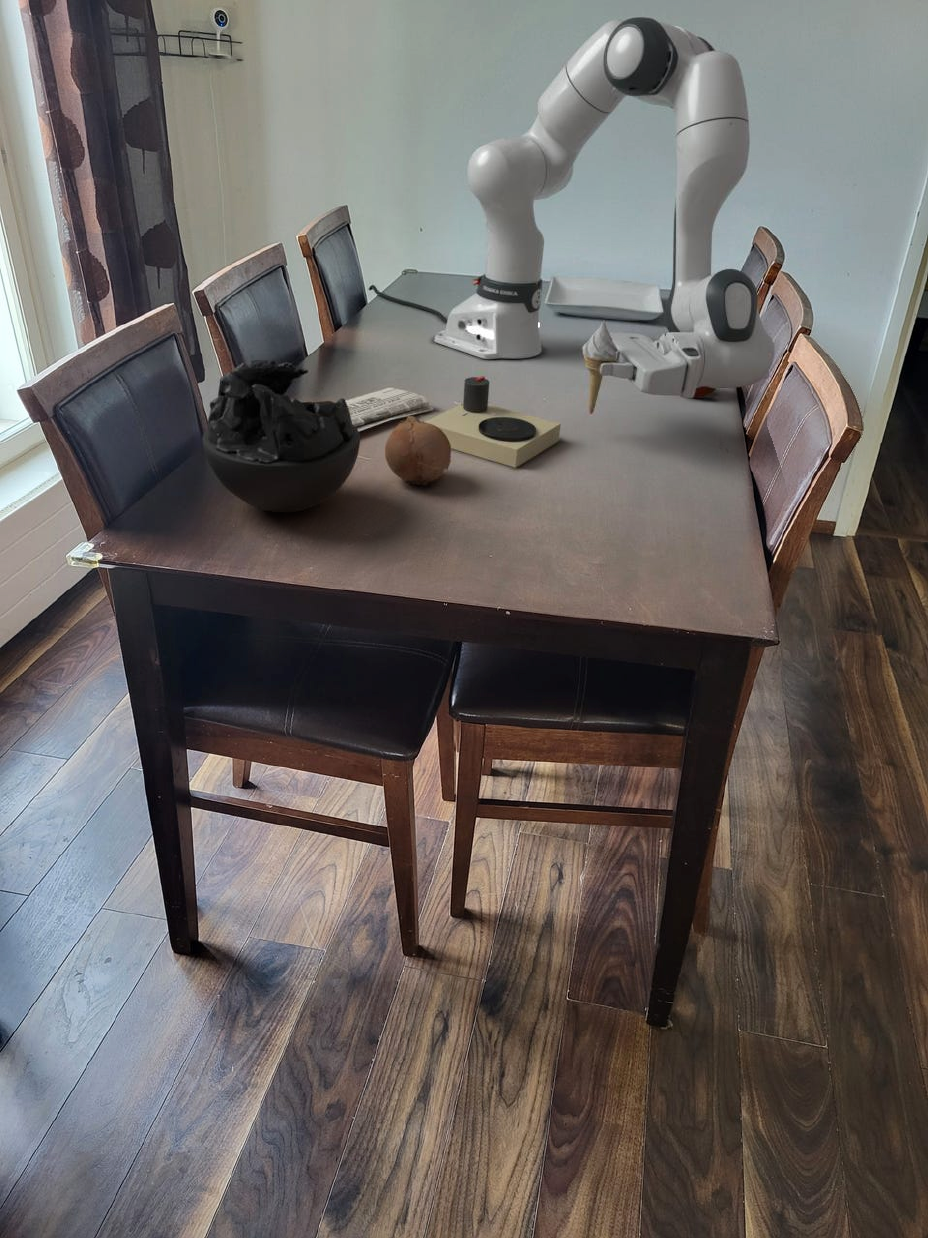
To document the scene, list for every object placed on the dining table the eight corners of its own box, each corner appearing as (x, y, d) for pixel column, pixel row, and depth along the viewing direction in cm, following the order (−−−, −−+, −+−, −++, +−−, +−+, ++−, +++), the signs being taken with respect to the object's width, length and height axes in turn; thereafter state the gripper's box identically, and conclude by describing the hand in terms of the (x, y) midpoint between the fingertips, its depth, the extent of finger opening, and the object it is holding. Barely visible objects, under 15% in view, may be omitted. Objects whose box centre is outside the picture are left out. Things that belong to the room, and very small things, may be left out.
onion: (399, 489, 138) (385, 422, 136) (460, 478, 137) (447, 409, 135) (386, 493, 129) (371, 421, 127) (452, 481, 127) (438, 407, 126)
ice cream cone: (571, 407, 152) (582, 314, 144) (604, 408, 153) (617, 315, 145) (577, 419, 148) (589, 324, 140) (611, 420, 148) (626, 325, 140)
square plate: (549, 289, 237) (551, 273, 235) (657, 299, 235) (660, 283, 233) (542, 316, 214) (544, 299, 212) (661, 327, 212) (664, 310, 210)
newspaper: (339, 445, 143) (337, 429, 142) (289, 430, 151) (287, 414, 149) (440, 411, 158) (439, 396, 157) (390, 398, 165) (389, 384, 164)
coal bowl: (284, 462, 137) (277, 334, 126) (390, 501, 128) (392, 366, 117) (177, 507, 122) (159, 367, 112) (288, 555, 113) (280, 407, 103)
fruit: (729, 397, 169) (714, 357, 166) (687, 414, 172) (671, 375, 169) (727, 383, 175) (713, 344, 172) (687, 400, 179) (672, 362, 175)
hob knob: (479, 414, 149) (481, 384, 147) (458, 408, 151) (460, 379, 148) (491, 408, 152) (494, 378, 150) (471, 402, 154) (473, 373, 151)
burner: (467, 431, 143) (467, 427, 143) (497, 416, 149) (497, 412, 149) (517, 446, 139) (518, 442, 139) (546, 429, 146) (546, 425, 145)
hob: (417, 438, 148) (418, 419, 146) (466, 413, 158) (467, 395, 156) (515, 468, 140) (517, 448, 138) (560, 440, 150) (562, 421, 149)
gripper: (653, 322, 155) (575, 322, 152) (705, 361, 138) (618, 362, 136) (647, 359, 159) (570, 360, 156) (697, 402, 142) (612, 403, 139)
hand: (593, 361), depth 145 cm, fingers closed on ice cream cone, 5 cm apart
